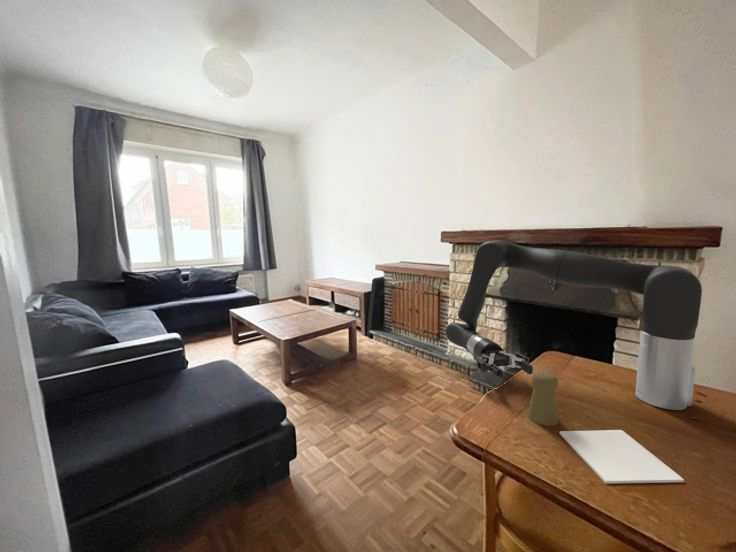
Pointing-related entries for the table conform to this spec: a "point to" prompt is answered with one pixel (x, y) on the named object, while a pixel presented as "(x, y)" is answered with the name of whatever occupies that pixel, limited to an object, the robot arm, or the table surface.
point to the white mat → (619, 457)
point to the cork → (543, 399)
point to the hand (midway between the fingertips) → (516, 372)
